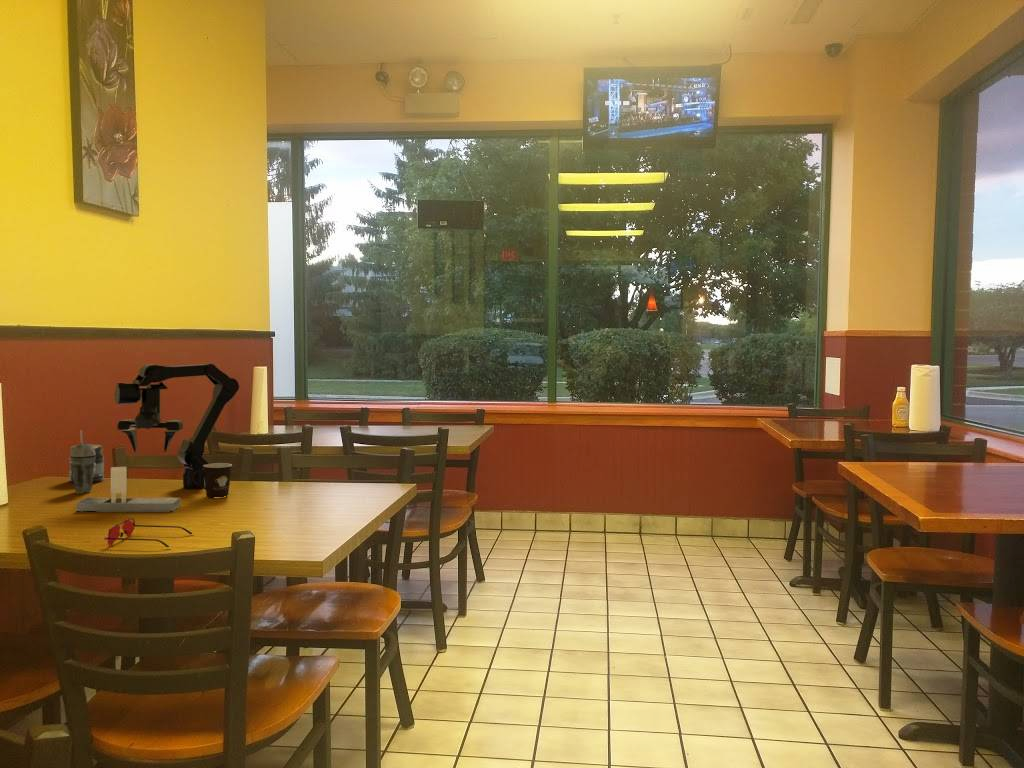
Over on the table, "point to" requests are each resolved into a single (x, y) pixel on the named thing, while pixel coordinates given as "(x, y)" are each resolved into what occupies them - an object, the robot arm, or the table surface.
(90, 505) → the rail
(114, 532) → the glasses
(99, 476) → the supplement container
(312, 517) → the table surface
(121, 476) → the clip
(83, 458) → the beverage cup
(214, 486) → the coffee mug
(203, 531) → the table surface
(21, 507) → the table surface
